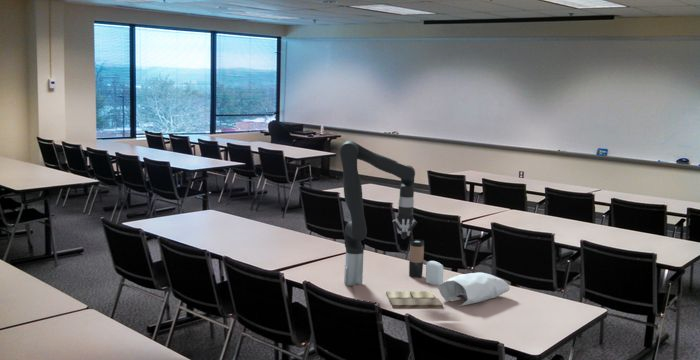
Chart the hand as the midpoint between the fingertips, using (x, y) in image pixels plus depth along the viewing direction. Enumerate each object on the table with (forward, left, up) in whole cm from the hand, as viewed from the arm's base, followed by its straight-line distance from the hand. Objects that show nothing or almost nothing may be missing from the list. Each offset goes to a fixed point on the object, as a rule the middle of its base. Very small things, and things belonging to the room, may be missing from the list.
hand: (403, 238), depth 324 cm
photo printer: (+19, +8, -27) cm, 34 cm away
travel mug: (+12, +22, -27) cm, 37 cm away
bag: (+33, -16, -27) cm, 46 cm away
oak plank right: (+8, -16, -26) cm, 31 cm away
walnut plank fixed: (+2, -26, -26) cm, 37 cm away
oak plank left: (-4, -16, -26) cm, 30 cm away
